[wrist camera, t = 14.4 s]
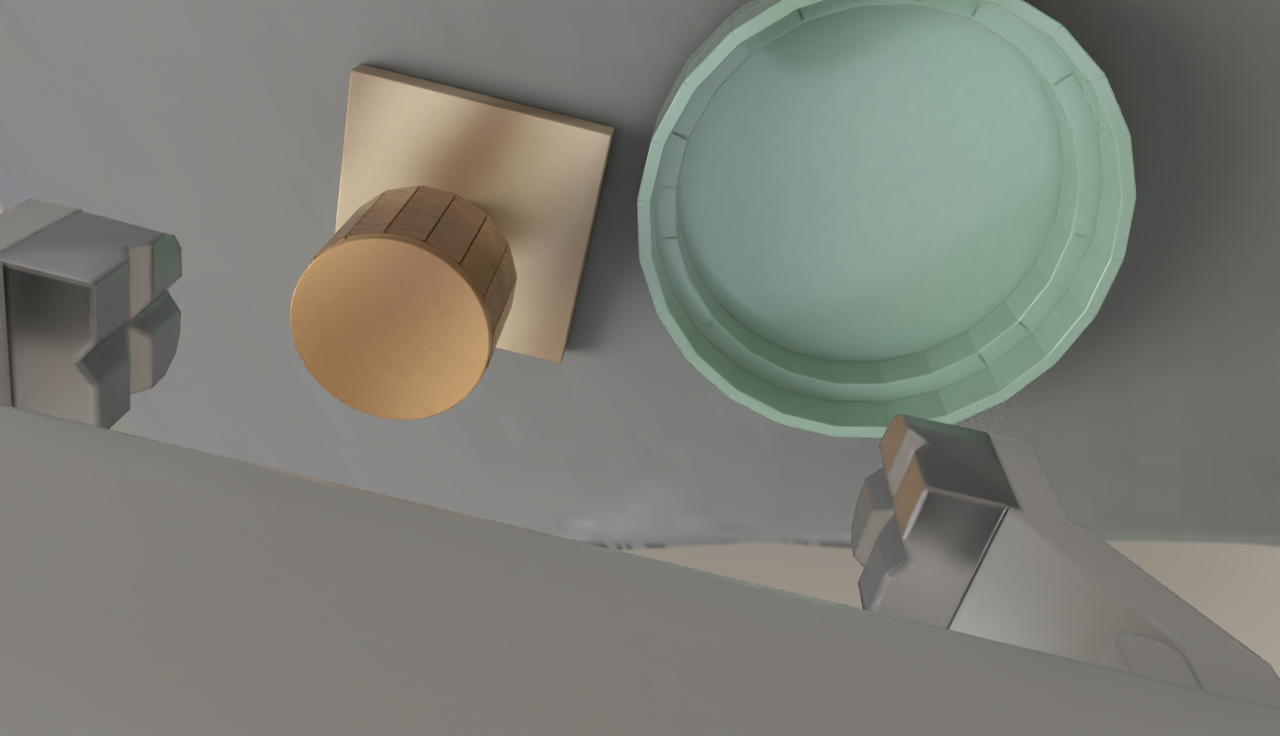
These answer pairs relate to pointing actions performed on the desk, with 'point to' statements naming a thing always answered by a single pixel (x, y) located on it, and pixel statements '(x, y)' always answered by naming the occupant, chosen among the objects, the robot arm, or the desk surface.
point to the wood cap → (405, 303)
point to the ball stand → (486, 182)
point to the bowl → (883, 207)
